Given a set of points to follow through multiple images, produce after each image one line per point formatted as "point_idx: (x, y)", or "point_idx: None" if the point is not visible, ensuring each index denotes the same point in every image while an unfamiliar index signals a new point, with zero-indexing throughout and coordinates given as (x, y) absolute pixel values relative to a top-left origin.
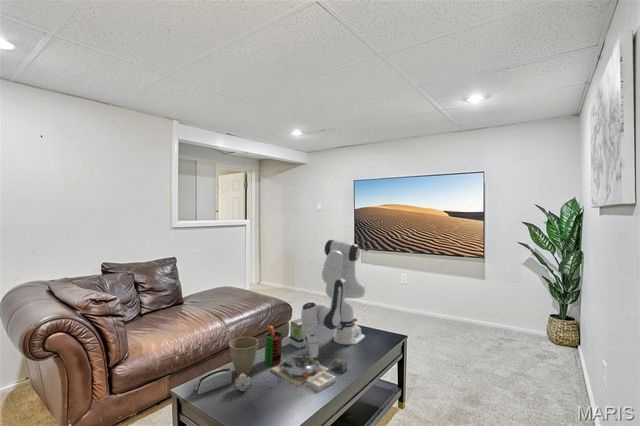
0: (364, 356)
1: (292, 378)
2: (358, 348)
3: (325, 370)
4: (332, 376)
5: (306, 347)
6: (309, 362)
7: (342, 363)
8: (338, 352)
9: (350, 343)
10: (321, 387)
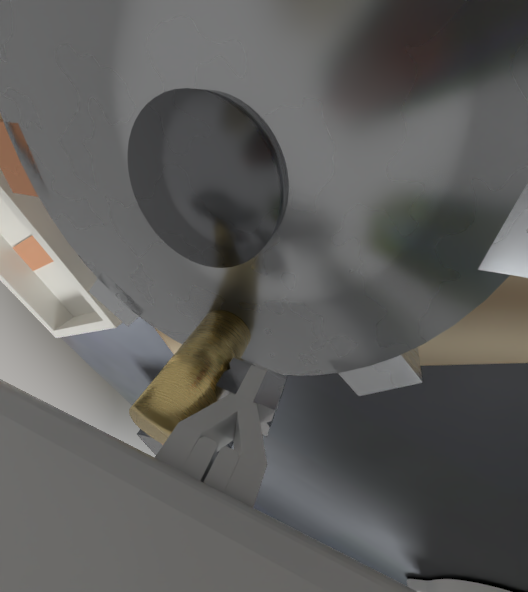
0: (278, 512)
1: None
2: (361, 554)
3: (168, 346)
4: (59, 328)
5: (255, 546)
6: (216, 315)
7: (146, 440)
8: (386, 514)
9: (428, 586)
10: None
